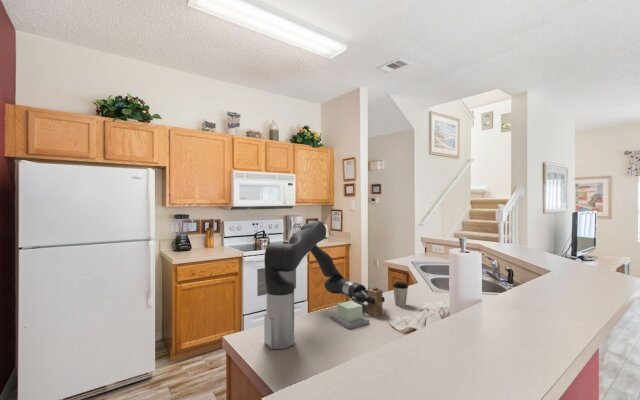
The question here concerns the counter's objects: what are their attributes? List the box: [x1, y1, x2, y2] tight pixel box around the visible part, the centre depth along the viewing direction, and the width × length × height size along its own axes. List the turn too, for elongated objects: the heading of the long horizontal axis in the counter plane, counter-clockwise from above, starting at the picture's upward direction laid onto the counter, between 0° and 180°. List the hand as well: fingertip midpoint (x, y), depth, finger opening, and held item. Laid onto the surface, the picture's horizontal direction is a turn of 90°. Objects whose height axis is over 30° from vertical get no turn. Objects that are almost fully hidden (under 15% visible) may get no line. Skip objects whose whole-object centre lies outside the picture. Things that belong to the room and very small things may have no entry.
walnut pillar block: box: [366, 286, 383, 317], centre depth 129 cm, size 4×4×11 cm
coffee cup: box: [392, 281, 409, 308], centre depth 139 cm, size 7×7×10 cm
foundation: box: [330, 300, 370, 330], centre depth 121 cm, size 10×12×6 cm
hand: (379, 300), depth 127 cm, fingers closed on walnut pillar block, 4 cm apart
